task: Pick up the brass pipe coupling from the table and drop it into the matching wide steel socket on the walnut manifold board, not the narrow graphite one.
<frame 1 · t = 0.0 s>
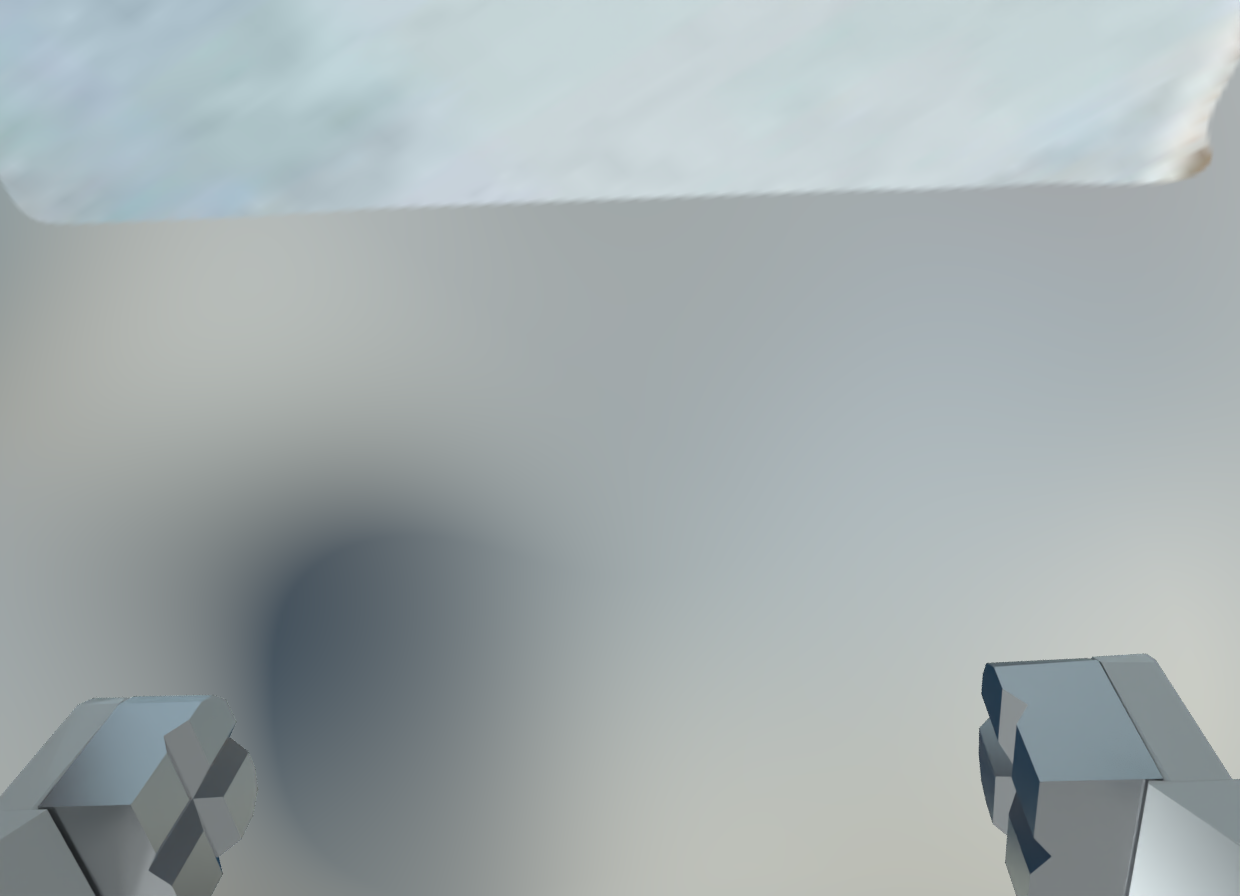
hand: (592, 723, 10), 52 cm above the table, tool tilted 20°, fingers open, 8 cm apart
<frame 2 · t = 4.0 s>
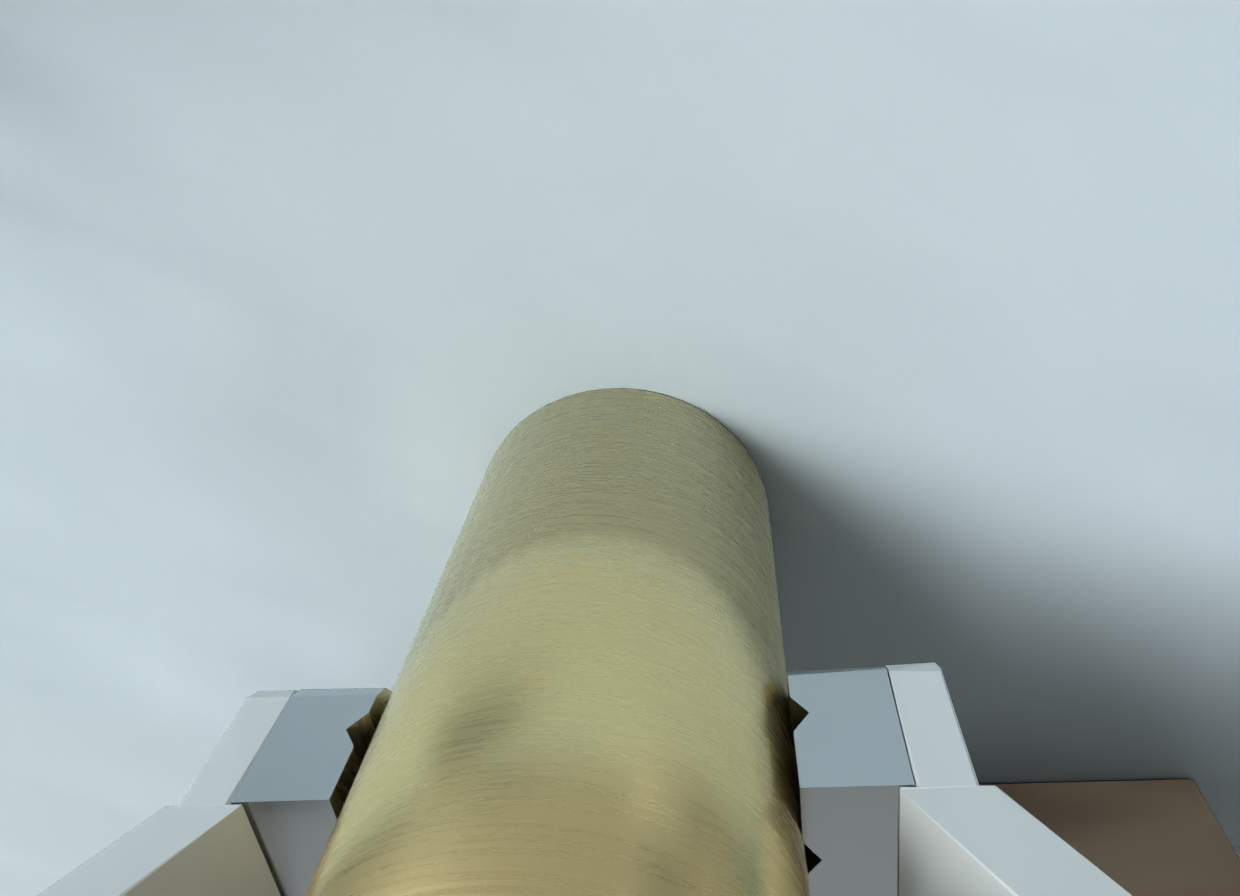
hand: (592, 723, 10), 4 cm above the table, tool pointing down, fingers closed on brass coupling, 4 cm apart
brass coupling: (623, 520, 14), on the table, touching gripper
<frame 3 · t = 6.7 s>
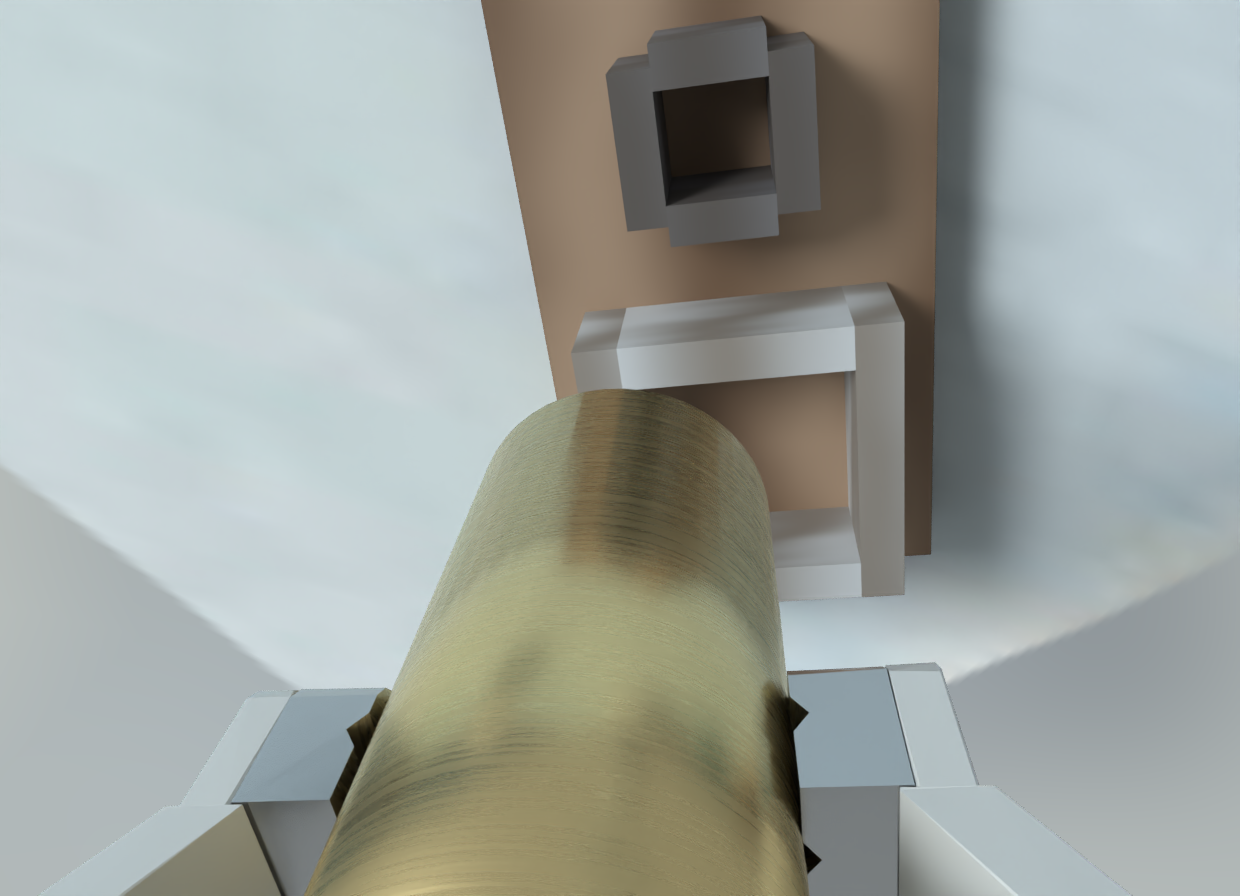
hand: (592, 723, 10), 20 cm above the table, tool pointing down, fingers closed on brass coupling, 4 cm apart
manifold board: (730, 264, 28), on the table
brass coupling: (623, 520, 14), point 16 cm above the table, touching gripper
when the fingers open (7 cm above the table, at t = 9.4 s): brass coupling stays where it is, resting on manifold board.
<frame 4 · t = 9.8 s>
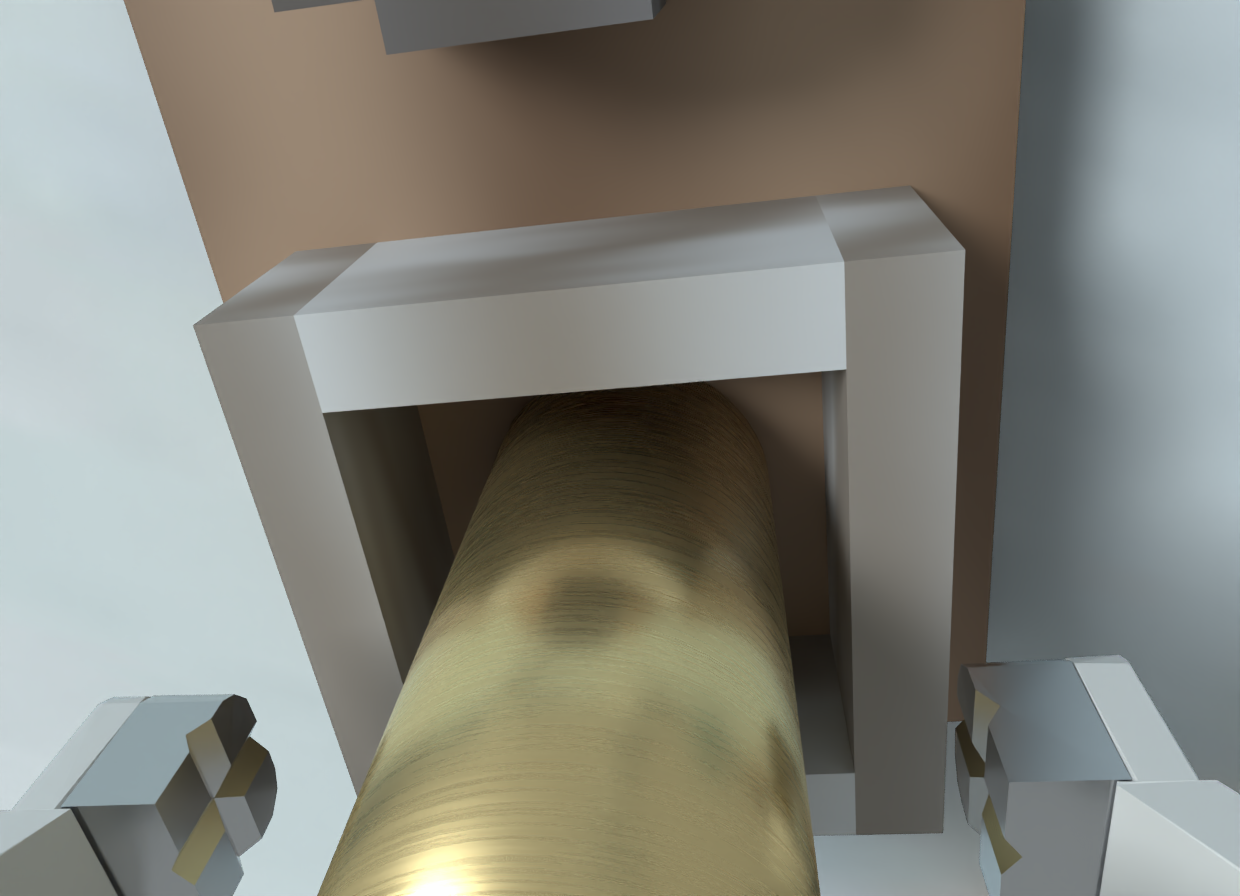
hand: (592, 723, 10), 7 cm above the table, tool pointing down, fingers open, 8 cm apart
manifold board: (601, 167, 14), on the table
brass coupling: (631, 487, 15), point 2 cm above the table, touching manifold board
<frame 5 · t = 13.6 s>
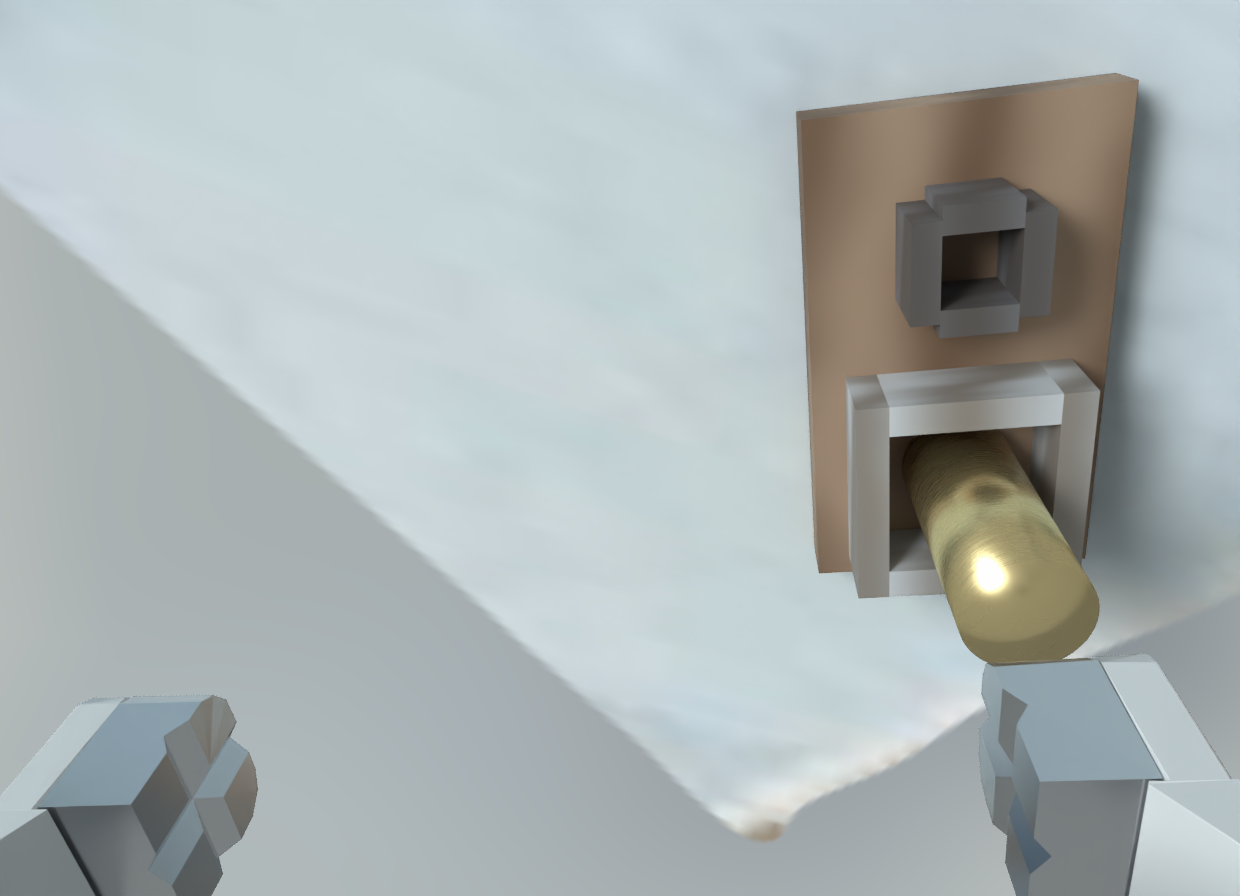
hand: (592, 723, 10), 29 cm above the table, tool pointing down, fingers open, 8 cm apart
manifold board: (945, 341, 38), on the table
brass coupling: (954, 462, 38), point 2 cm above the table, touching manifold board
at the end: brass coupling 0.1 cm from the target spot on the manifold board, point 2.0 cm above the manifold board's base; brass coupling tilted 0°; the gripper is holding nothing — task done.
